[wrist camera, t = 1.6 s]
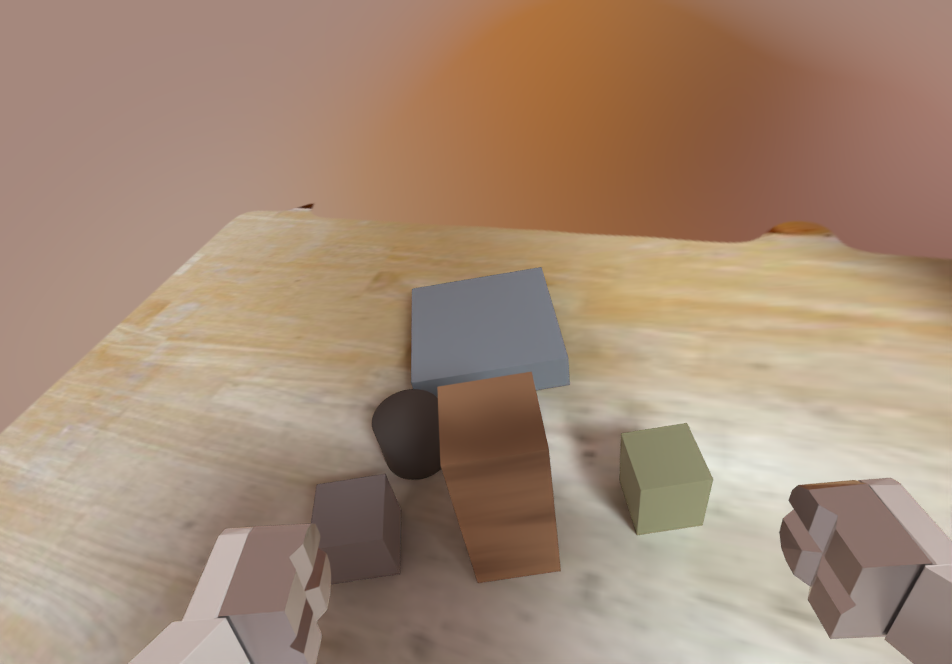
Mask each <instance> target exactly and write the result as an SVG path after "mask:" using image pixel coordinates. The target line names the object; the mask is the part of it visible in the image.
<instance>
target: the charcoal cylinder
mask: <svg viewBox="0 0 952 664" xmlns="http://www.w3.org/2000/svg"><path fill="white" fill-rule="evenodd" d="M372 428H373V431H374V434H375V436H376V438H377V441H378V443H379V445H380V448H381V450H382V453H383V455H384V457H385V460H386V462H387V464H388V467H389V468H390V470H391V471H392V472H393V473H394V474H396V475H397V476H399V477H402V478H405V479H412V480H413V479H422V478H426V477H429V476H431V475H433V474H435V473H436V472H438V471H439V470H440V469H441V464H440V439H439V414H438V398H437V397H436V396H435V395H434V394H432V393H430V392H428V391H425V390H420V389H409V390H404V391H400V392H398V393H395V394H393V395H391V396H390V397H388V398H387V399H385V400H384V401H383V402H382V403H381V404H380V405H379V406H378V408H377V409H376V411H375V412H374V415H373V418H372Z"/></svg>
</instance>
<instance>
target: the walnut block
mask: <svg viewBox="0 0 952 664" xmlns="http://www.w3.org/2000/svg"><path fill="white" fill-rule="evenodd" d="M437 389H438V414H439V439H440V464H441V469H442V472H443V475H444V478H445V481H446V485H447V488H448V491H449V494H450V497H451V500H452V504H453V507H454V510H455V513H456V516H457V519H458V522H459V526H460V529H461V532H462V535H463V538H464V541H465V545H466V548H467V551H468V554H469V557H470V560H471V563H472V567H473V570H474V573H475V576H476V579H477V582H478V583H482V582H489V581H496V580H502V579H509V578H516V577H523V576H529V575H536V574H543V573H550V572H556V571H561V569H560V559H559V549H558V538H557V528H556V518H555V508H554V498H553V487H552V477H551V467H550V457H549V448H548V443H547V439H546V434H545V430H544V425H543V421H542V416H541V412H540V407H539V402H538V398H537V393H536V389H535V384H534V380H533V375H532V372H526V373H519V374H513V375H507V376H501V377H495V378H488V379H482V380H476V381H470V382H463V383H457V384H451V385H445V386H439V387H437Z"/></svg>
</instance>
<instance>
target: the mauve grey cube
mask: <svg viewBox="0 0 952 664" xmlns="http://www.w3.org/2000/svg"><path fill="white" fill-rule="evenodd" d="M311 524H316V526H317V528H318V531H319V533H320V536H321V537H320V542H319V546H318V548H320V549H321V550H323V551H324V552H326V553H327V556H328V559H329V562H330V569H331V584H336V583H343V582H350V581H356V580H363V579H369V578H376V577H383V576H389V575H396V574H400V549H401V509H400V506H399V504H398V502H397V499H396V497H395V495H394V492H393V490H392V488H391V486H390V483H389V481H388V479H387V476H386V474H381V475H375V476H368V477H362V478H355V479H349V480H343V481H336V482H330V483H323V484H317V486H316V493H315V500H314V506H313V513H312V519H311Z"/></svg>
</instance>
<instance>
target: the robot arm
mask: <svg viewBox="0 0 952 664" xmlns="http://www.w3.org/2000/svg"><path fill="white" fill-rule="evenodd" d="M789 502H790V504H791V505H792V507H793V508H794V510H793V511H791V512H790V513H789V514H788V515H786V516H785V517H784V518H783V520H782V524H781V528H780V532H779V533H780V541H781V549H782V551H783V554H784V557H785V560H786V562H787V564H788V566H789V567H790V569H791V571H792V573H793V575H795V576H796V577H797V578H799V579H800V580H802V581H803V582H804V583H806V584H807V585H809V586H810V589H809V595H808V601H809V603H810V605H811V606H812V608H813V610H814V612H815V613H816V615H817V617H818V619H819V620H820V622H821V624H822V626H823V627H824V629H825V631H826V632H827V634H828V636H829V638H830V639H839V638H861V637H884V636H886V637H885V640H886V641H887V642H888V643H889V644H891V645H892V646H893V647H894V648H895V649H897V650H898V651H899V652H900V653H901V654H903V655H904V656H905V657H906V658H907V659H909V660H910V661H911V662H912V663H914V664H952V541H951V540H950V539H949V537H948V536H947V535H946V534H945V533H944V532H943V531H942V530H941V528H940V527H939V526H938V525H937V524H936V523H935V522H934V521H933V519H932V518H931V517H930V516H929V515H928V514H927V513H926V512H925V510H924V509H923V508H922V507H921V506H920V505H919V504H918V503H917V501H916V500H915V499H914V498H913V497H912V496H911V495H910V494H909V492H908V491H907V490H906V489H905V488H904V487H903V486H902V485H901V484H900V483H899V482H897V481H896V480H894V479H892V478H882V479H869V480H859V481H856V480H849V481H838V482H827V483H816V484H805V485H798V486H796V487H795V488H794V489H793V490H792V492H791V495H790V498H789ZM320 537H321V536H320V533H319V531H318V528H317V526H316V524H293V525H273V526H254V527H239V528H225V529H224V531H223V532H222V533H221V534H220V535H219V536H218V538H217V540H216V542H215V544H214V547H213V549H212V551H211V554H210V556H209V558H208V561H207V563H206V565H205V568H204V570H203V572H202V575H201V577H200V579H199V582H198V584H197V586H196V589H195V591H194V593H193V595H192V598H191V600H190V602H189V605H188V607H187V609H186V612H185V614H184V616H183V619H182V621H173V622H172V623H170V624H169V625H168V626H167V627H166V628H165V629H164V630H163V631H162V632H161V633H160V634H159V635H158V636H156V637H155V638H154V639H153V640H152V641H151V642H150V643H149V644H148V645H147V646H146V647H145V648H144V649H143V650H141V651H140V652H139V653H138V654H137V655H136V656H135V657H134V658H133V659H132V660H131V661H130V662H129V663H127V664H316V662H317V657H318V653H319V648H320V643H321V638H322V634H321V631H320V629H319V626H318V623H317V621H318V620H319V618H320V617H321V616H322V615H323V614H324V613H325V612H326V610H327V609H328V604H329V598H330V593H331V569H330V562H329V559H328V556H327V553H326V552H324V551H323V550H321V549H320V548H318V546H319V542H320Z"/></svg>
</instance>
